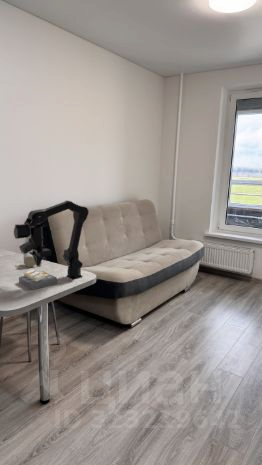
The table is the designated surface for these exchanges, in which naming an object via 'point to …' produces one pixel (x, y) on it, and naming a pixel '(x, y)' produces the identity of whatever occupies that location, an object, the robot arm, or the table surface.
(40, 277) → the rocker
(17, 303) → the table surface
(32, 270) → the rocker
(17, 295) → the table surface
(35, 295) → the table surface
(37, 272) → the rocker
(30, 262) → the ceramic mug
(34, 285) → the switch unit
